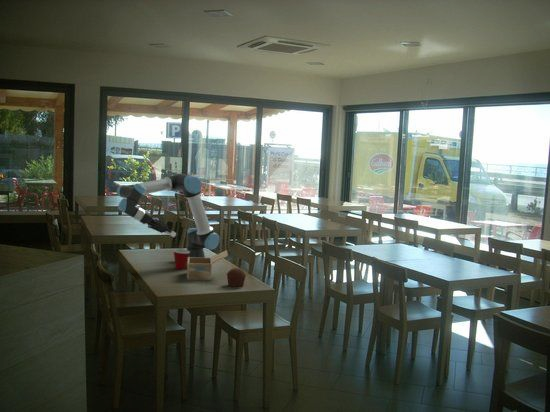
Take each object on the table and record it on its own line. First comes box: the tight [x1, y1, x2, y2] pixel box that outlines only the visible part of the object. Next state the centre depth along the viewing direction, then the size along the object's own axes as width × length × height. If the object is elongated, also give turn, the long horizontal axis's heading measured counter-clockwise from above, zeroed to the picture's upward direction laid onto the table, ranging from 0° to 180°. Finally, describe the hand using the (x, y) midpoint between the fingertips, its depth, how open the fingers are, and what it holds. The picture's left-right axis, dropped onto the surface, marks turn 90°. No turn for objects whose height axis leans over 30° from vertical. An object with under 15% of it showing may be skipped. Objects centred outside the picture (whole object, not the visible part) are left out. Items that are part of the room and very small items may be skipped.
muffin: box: [226, 267, 247, 288], centre depth 334 cm, size 12×11×10 cm
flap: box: [210, 250, 229, 265], centre depth 354 cm, size 19×1×10 cm
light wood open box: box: [186, 257, 213, 281], centre depth 353 cm, size 21×14×10 cm
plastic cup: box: [173, 248, 190, 270], centre depth 373 cm, size 11×11×12 cm
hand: (175, 235), depth 357 cm, fingers closed
